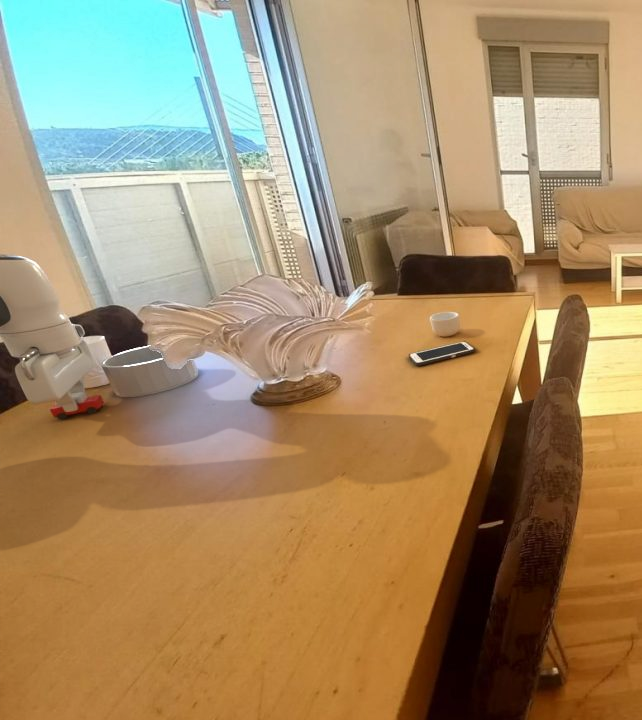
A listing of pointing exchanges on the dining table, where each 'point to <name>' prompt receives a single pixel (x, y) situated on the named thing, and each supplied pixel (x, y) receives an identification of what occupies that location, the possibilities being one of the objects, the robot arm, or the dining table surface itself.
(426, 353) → the cell phone
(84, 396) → the toy car
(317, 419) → the dining table surface
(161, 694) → the dining table surface
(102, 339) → the white cup
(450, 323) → the teacup
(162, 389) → the gray bowl
